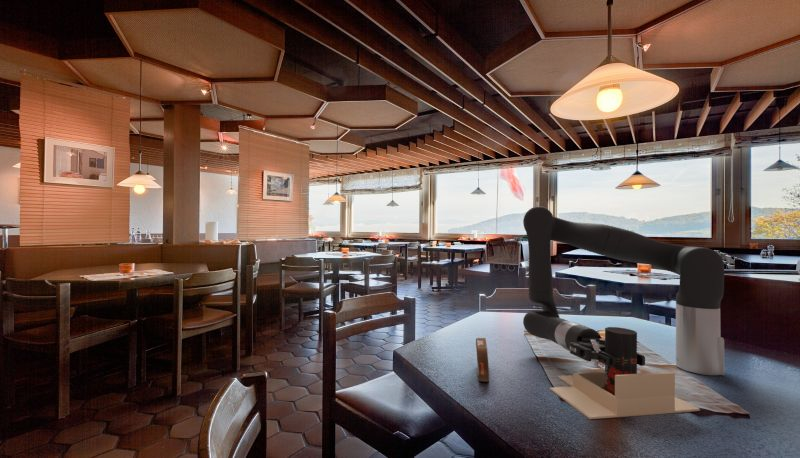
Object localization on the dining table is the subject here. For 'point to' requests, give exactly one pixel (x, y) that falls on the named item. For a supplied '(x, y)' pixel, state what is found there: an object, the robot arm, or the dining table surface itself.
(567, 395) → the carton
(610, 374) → the deodorant
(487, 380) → the thin brown box
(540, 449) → the dining table surface
